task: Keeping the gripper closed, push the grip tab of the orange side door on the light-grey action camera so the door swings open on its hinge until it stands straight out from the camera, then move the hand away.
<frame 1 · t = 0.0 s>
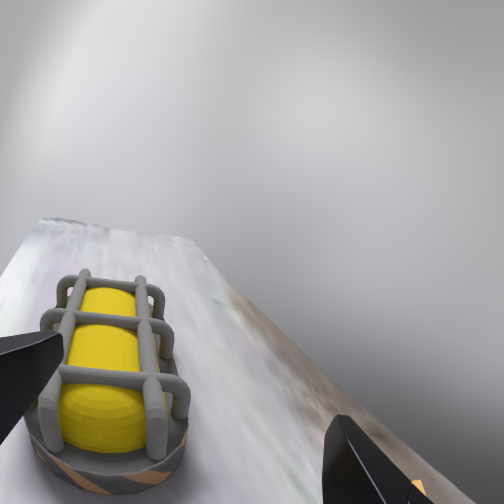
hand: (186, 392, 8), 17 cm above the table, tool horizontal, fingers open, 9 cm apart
cage light: (105, 380, 29), on the table
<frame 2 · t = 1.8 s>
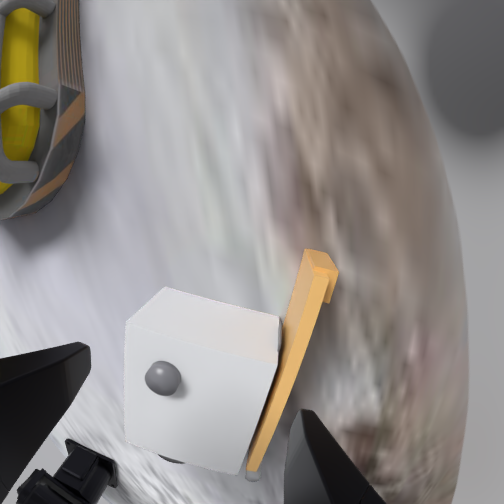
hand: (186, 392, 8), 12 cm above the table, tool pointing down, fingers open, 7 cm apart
cage light: (23, 62, 19), on the table
side door: (283, 376, 18), point 3 cm above the table, hinge at 0.0°
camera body: (208, 362, 22), on the table
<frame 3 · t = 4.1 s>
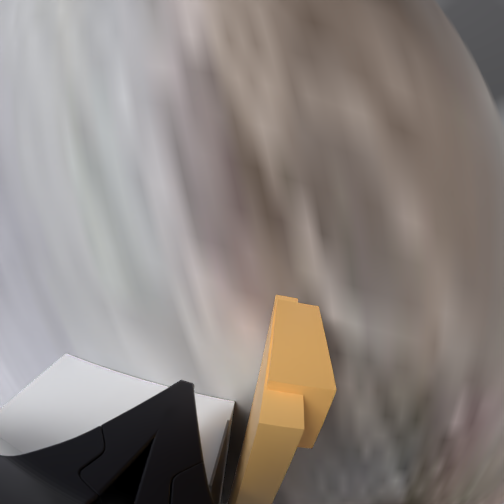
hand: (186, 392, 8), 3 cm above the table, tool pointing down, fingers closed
side door: (247, 501, 9), point 3 cm above the table, hinge at 2.0°, touching gripper
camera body: (147, 451, 13), on the table
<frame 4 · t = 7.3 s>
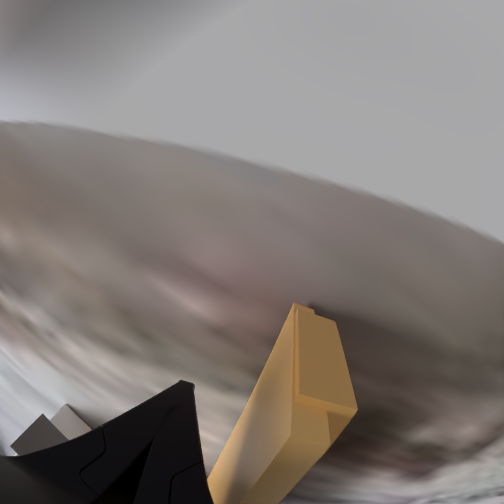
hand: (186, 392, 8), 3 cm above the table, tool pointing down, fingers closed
side door: (227, 497, 9), point 3 cm above the table, hinge at 62.4°, touching gripper
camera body: (103, 475, 14), on the table
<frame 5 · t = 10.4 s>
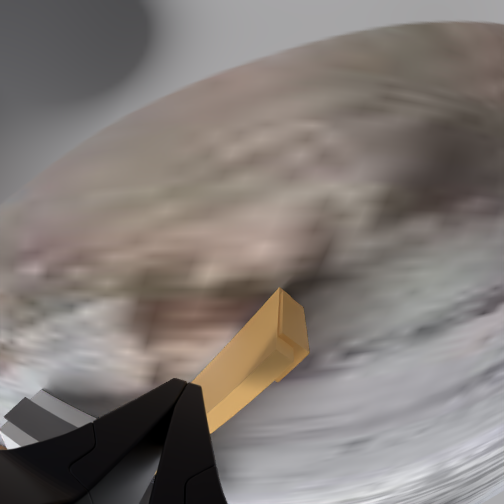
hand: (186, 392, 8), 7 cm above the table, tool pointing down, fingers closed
side door: (188, 419, 14), point 3 cm above the table, hinge at 115.5°
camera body: (95, 445, 19), on the table
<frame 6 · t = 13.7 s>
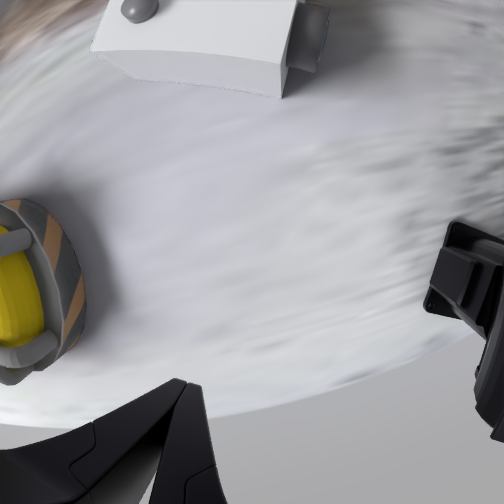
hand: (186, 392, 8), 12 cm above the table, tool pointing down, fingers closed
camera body: (218, 34, 17), on the table
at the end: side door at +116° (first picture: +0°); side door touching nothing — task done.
